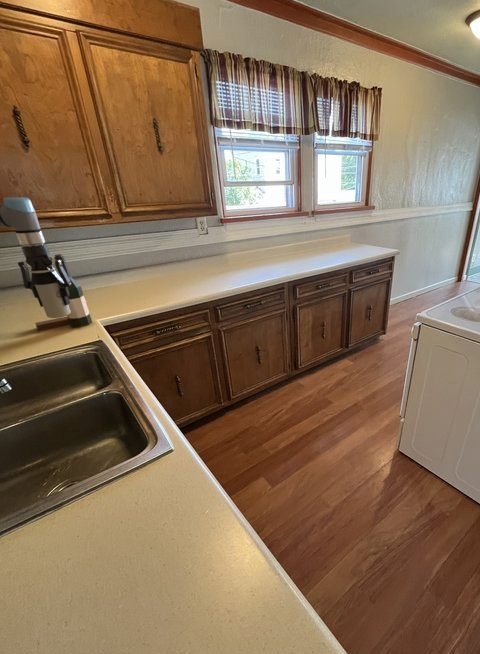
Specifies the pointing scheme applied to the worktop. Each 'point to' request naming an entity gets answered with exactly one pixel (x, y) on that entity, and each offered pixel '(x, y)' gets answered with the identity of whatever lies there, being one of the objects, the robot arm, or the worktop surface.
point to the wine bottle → (75, 301)
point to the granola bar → (52, 323)
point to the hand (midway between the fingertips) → (55, 304)
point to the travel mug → (50, 294)
